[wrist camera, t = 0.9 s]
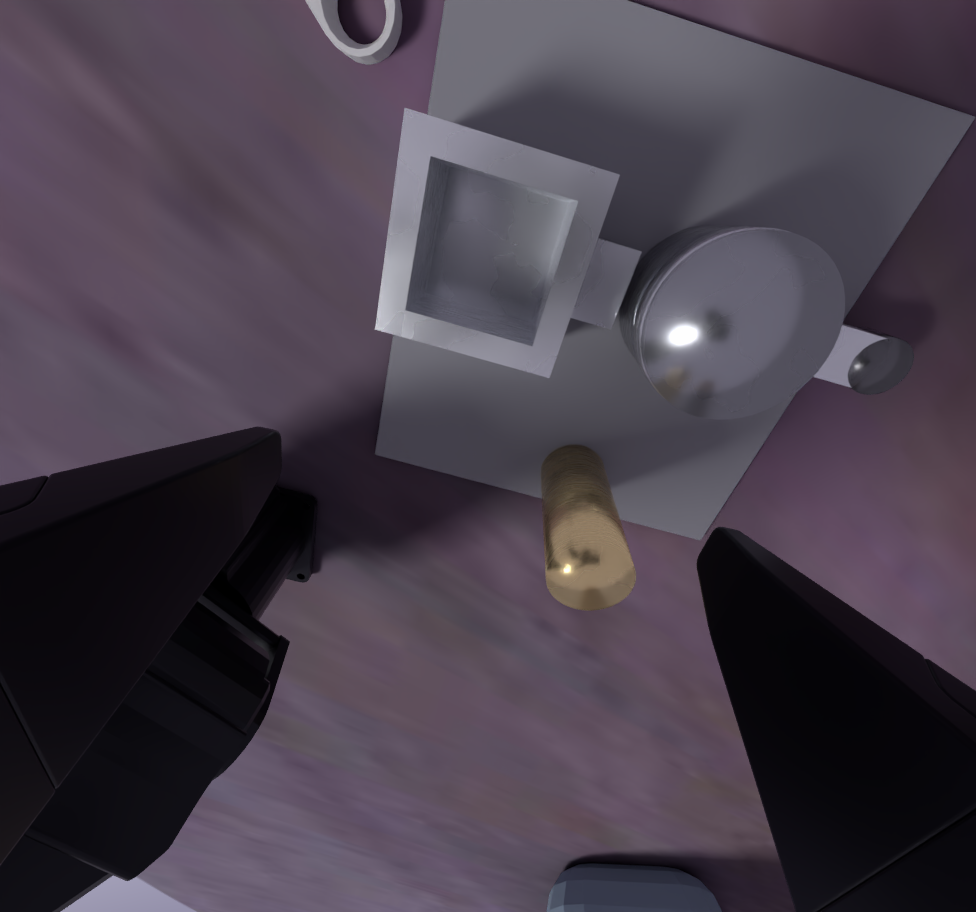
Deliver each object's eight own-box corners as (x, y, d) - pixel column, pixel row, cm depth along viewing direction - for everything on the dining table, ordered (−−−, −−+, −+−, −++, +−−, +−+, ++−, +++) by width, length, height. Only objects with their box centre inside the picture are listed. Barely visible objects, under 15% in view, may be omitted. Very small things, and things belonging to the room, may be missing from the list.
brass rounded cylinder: (590, 504, 24) (615, 618, 17) (532, 489, 23) (534, 598, 17) (614, 454, 22) (650, 557, 15) (552, 437, 22) (562, 535, 15)
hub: (722, 390, 20) (775, 440, 16) (595, 354, 20) (613, 395, 16) (801, 248, 17) (892, 261, 13) (653, 203, 17) (697, 201, 13)
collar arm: (929, 284, 17) (1042, 305, 13) (828, 425, 20) (897, 475, 16) (433, 131, 16) (404, 107, 12) (405, 305, 19) (375, 329, 15)
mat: (698, 536, 24) (700, 540, 24) (376, 451, 23) (374, 454, 23) (967, 118, 15) (975, 116, 15) (455, -54, 14) (454, -58, 14)
